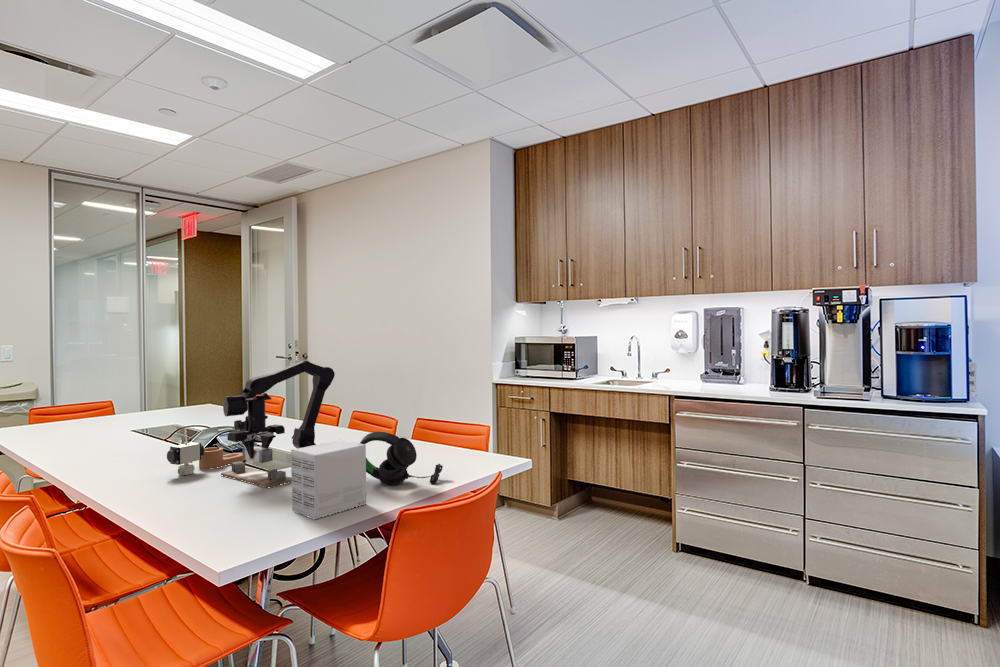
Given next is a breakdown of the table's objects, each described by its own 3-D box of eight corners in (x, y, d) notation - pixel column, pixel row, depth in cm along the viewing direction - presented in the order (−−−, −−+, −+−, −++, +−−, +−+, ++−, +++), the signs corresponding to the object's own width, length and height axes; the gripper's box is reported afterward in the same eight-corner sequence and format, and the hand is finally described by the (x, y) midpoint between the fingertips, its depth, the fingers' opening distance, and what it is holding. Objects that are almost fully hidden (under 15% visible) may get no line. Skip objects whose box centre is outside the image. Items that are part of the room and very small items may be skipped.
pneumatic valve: (205, 471, 205) (204, 439, 205) (175, 479, 194) (174, 445, 194) (195, 469, 207) (194, 438, 207) (165, 477, 196) (164, 444, 196)
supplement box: (341, 496, 170) (340, 439, 170) (367, 504, 162) (367, 444, 162) (290, 511, 157) (289, 448, 157) (315, 520, 148) (314, 454, 148)
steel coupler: (272, 460, 192) (272, 449, 192) (261, 463, 188) (261, 451, 188) (253, 456, 198) (253, 445, 198) (242, 459, 195) (242, 447, 195)
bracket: (207, 470, 206) (207, 452, 206) (194, 468, 210) (194, 450, 210) (249, 460, 222) (249, 443, 222) (236, 458, 226) (236, 442, 226)
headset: (422, 509, 183) (345, 470, 182) (435, 482, 195) (362, 445, 194) (441, 474, 174) (361, 433, 174) (453, 448, 186) (378, 410, 186)
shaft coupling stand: (295, 481, 189) (295, 469, 189) (268, 488, 180) (268, 475, 180) (247, 469, 206) (247, 458, 206) (221, 475, 198) (220, 464, 198)
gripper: (267, 408, 205) (268, 449, 205) (218, 415, 190) (219, 459, 190) (285, 410, 199) (286, 453, 199) (235, 417, 184) (236, 463, 184)
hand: (257, 457), depth 193 cm, fingers closed on steel coupler, 4 cm apart
